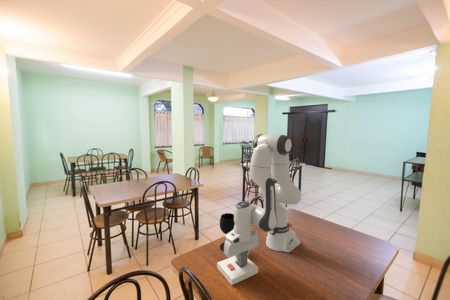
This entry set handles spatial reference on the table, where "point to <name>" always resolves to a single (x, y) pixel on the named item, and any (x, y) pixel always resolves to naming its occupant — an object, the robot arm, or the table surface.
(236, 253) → the robot arm
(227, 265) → the socket plate
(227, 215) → the wine glass
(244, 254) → the plug
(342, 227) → the table surface
